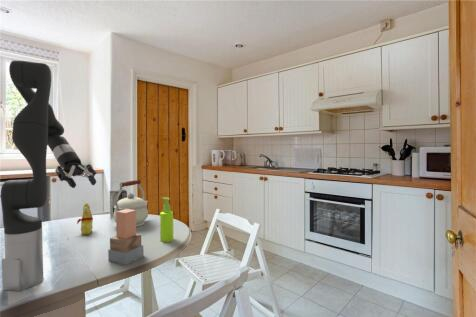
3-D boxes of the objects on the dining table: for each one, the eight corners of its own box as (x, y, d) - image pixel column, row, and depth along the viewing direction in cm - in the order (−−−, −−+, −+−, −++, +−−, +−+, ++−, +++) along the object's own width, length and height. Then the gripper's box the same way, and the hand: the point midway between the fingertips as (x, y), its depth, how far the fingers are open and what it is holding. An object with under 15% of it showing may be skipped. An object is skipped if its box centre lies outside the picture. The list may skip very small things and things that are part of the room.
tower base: (125, 265, 95) (125, 253, 95) (108, 261, 99) (108, 249, 99) (143, 256, 103) (143, 245, 103) (127, 252, 107) (126, 241, 107)
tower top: (126, 252, 96) (126, 240, 96) (110, 249, 99) (109, 238, 98) (141, 245, 103) (141, 234, 103) (126, 242, 106) (125, 231, 106)
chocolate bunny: (93, 228, 138) (93, 200, 138) (91, 234, 128) (91, 205, 128) (79, 230, 136) (78, 202, 135) (75, 236, 126) (75, 206, 125)
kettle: (130, 231, 133) (129, 184, 132) (103, 228, 139) (102, 182, 138) (159, 219, 156) (159, 178, 155) (135, 216, 162) (134, 177, 161)
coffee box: (124, 213, 171) (124, 189, 170) (127, 215, 166) (127, 190, 165) (109, 215, 165) (109, 190, 164) (112, 217, 160) (111, 192, 159)
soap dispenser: (167, 236, 126) (166, 196, 125) (175, 239, 121) (175, 197, 121) (156, 239, 121) (156, 197, 121) (165, 243, 117) (164, 199, 116)
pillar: (126, 238, 98) (125, 212, 97) (116, 237, 100) (116, 211, 99) (136, 234, 102) (135, 210, 102) (126, 233, 104) (126, 208, 104)
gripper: (52, 151, 102) (71, 181, 98) (86, 150, 115) (104, 177, 111) (45, 163, 105) (63, 194, 100) (79, 162, 117) (96, 188, 113)
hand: (84, 185), depth 106 cm, fingers open, 8 cm apart
